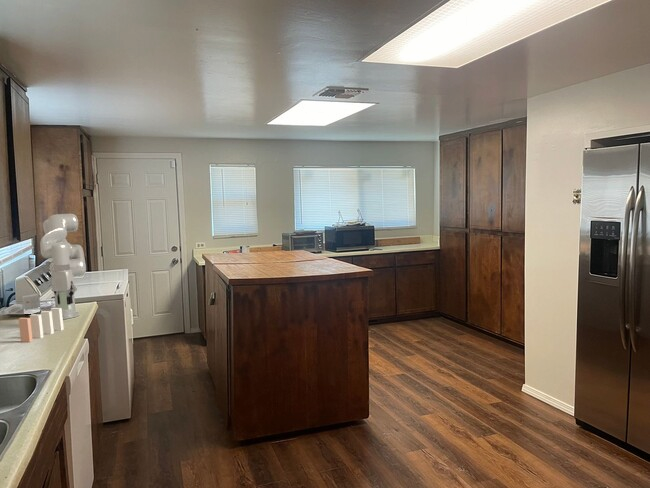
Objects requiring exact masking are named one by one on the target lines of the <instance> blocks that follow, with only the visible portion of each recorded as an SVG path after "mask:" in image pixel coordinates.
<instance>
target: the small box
mask: <svg viewBox="0 0 650 488" xmlns="http://www.w3.org/2000/svg"><path fill="white" fill-rule="evenodd" d="M20 298H21V306H22V310H23V309H25V310H27V309H33V308H38V307H41V300H40V299H41V298H40V295H39V294H38V293H33V294H27V295H22V296H20Z"/></svg>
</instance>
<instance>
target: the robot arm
mask: <svg viewBox="0 0 650 488" xmlns="http://www.w3.org/2000/svg"><path fill="white" fill-rule="evenodd" d="M78 219H79V218H78V217H77V215H76V214H74V213H57V214H52V215H50V217H48V218H47V219H45V220H44V221H43V223H42V227H43V232H44V235H43V236H42V237H41V239H40V242H39V245H40V254H41V256H42V257H43V258H44V259H52V262H51V263H50V264H49V272H50V275H51V289H50V290H51V291H52V293H53V296H54V304H55V308H60V297H59V291H66V293H67V296H68V297H67V304H68V305H69V304H71V309H69V310H62V318H63V320H68V319H74V318H76V317H79V316H80V312H78V311H76V302H75V301H76V300H75V299H76V298H75V292H77V290H78V288H77V287H76V286H75V279H74V277H79V276H83V275H85V274H86V271H87V265H86V259H85V254H84V253H85V252H84V249H83V247H82V246H81V245H80V244H78V243H77V244H71V243H70V242H68V239H67V236H68V233H73V232H77V231H78V228H79V220H78ZM69 292H70V293H69Z"/></svg>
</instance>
